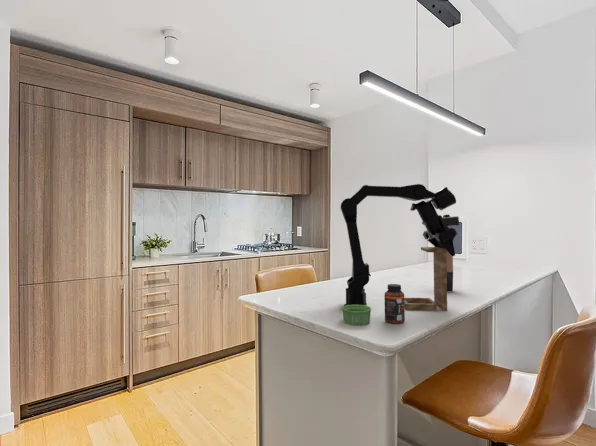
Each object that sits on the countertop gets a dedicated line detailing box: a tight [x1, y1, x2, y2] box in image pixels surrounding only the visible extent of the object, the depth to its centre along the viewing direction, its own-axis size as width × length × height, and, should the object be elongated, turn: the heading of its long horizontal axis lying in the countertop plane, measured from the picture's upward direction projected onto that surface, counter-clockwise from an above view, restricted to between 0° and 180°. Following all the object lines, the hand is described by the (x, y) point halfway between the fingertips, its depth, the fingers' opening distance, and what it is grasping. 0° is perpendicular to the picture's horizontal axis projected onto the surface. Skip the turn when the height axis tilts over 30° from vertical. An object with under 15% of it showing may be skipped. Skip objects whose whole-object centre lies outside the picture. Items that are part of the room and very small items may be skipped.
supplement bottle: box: [383, 283, 406, 325], centre depth 107 cm, size 6×6×11 cm
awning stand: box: [404, 246, 448, 312], centre depth 126 cm, size 14×11×21 cm
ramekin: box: [341, 305, 372, 326], centre depth 108 cm, size 9×9×4 cm
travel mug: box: [433, 246, 454, 293], centre depth 154 cm, size 8×8×20 cm
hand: (449, 254), depth 126 cm, fingers open, 8 cm apart
